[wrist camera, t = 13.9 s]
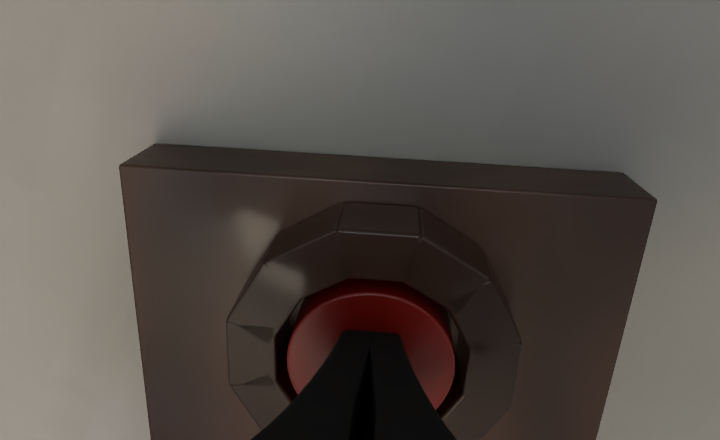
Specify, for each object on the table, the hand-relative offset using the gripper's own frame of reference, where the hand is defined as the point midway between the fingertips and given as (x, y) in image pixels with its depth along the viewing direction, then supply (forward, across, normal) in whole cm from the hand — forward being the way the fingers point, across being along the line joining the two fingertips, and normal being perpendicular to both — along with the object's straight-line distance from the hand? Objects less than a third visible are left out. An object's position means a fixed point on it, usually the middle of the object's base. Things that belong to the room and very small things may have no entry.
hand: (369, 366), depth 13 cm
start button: (+2, 0, 0) cm, 2 cm away
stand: (+4, 0, +5) cm, 6 cm away
